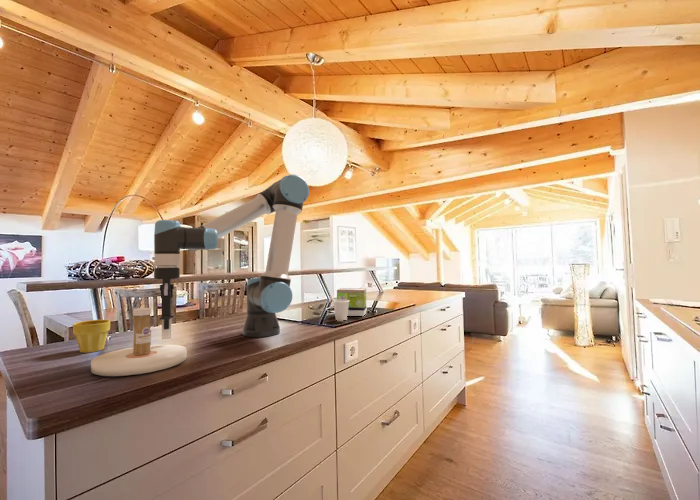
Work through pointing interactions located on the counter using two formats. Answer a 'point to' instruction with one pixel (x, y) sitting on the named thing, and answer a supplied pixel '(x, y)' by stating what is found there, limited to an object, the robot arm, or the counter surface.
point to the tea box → (354, 300)
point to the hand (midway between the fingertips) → (166, 338)
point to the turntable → (138, 360)
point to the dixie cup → (341, 309)
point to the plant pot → (91, 334)
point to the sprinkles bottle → (141, 331)
